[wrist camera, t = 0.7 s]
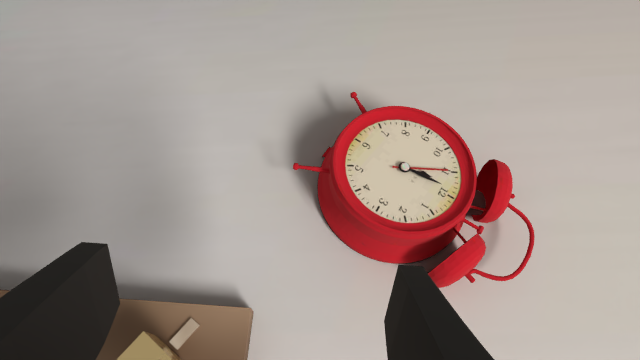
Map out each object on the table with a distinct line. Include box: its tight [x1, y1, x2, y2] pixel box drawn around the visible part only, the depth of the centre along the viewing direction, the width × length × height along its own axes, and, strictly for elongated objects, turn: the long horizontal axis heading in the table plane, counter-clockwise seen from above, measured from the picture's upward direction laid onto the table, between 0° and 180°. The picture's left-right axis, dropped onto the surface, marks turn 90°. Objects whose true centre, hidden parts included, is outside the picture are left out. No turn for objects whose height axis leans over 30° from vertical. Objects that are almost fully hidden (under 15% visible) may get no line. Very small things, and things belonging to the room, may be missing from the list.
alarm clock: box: [293, 92, 534, 288], centre depth 27 cm, size 10×6×15 cm
